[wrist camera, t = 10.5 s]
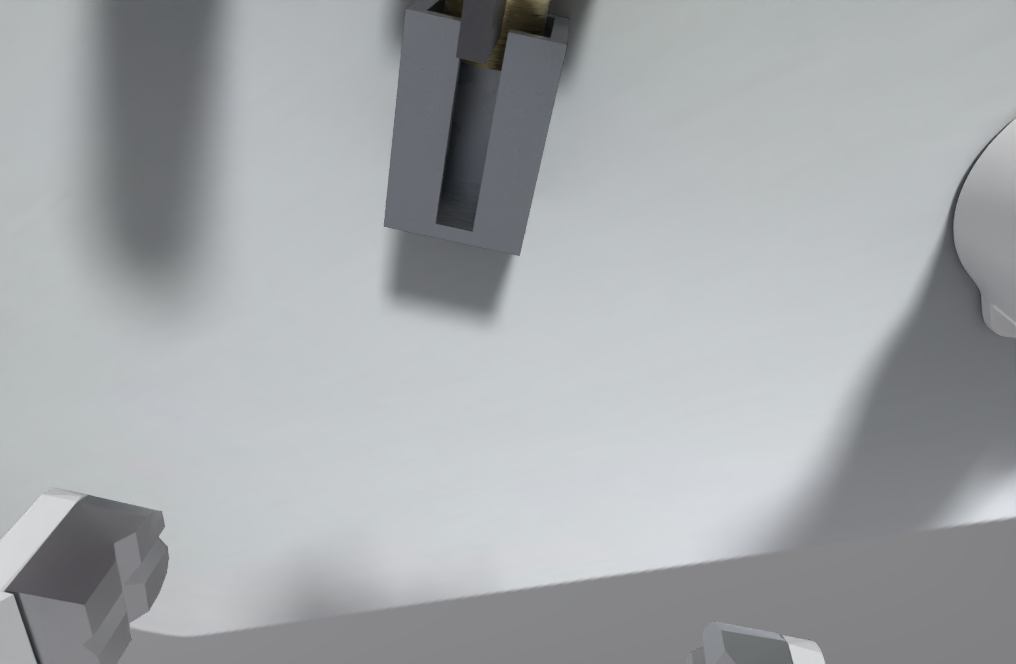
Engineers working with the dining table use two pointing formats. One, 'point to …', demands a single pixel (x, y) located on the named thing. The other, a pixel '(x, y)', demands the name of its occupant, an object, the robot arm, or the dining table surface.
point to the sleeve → (470, 131)
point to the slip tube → (493, 27)
